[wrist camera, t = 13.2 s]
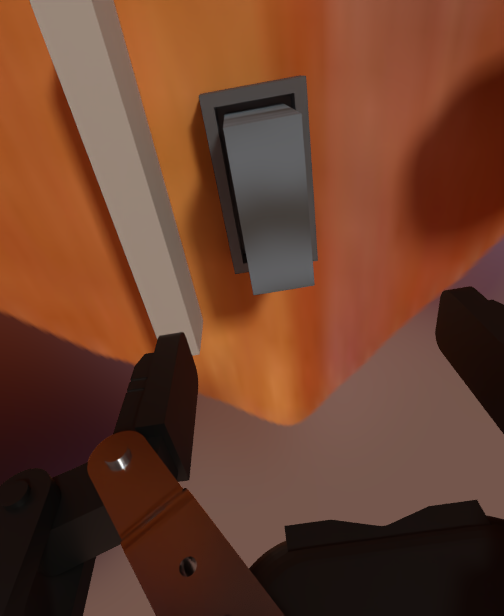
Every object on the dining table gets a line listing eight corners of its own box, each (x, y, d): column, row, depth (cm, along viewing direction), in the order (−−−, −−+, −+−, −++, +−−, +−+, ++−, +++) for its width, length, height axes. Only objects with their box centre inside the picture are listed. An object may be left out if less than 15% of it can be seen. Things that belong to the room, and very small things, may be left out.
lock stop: (224, 113, 25) (223, 128, 18) (282, 102, 25) (301, 113, 18) (248, 246, 31) (253, 295, 24) (295, 238, 30) (314, 285, 24)
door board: (65, 10, 22) (27, -5, 18) (113, 0, 22) (86, -17, 18) (172, 325, 35) (165, 359, 31) (203, 320, 35) (199, 354, 31)
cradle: (200, 93, 25) (198, 95, 23) (299, 75, 25) (305, 75, 23) (234, 261, 32) (235, 274, 30) (312, 248, 32) (317, 260, 30)
